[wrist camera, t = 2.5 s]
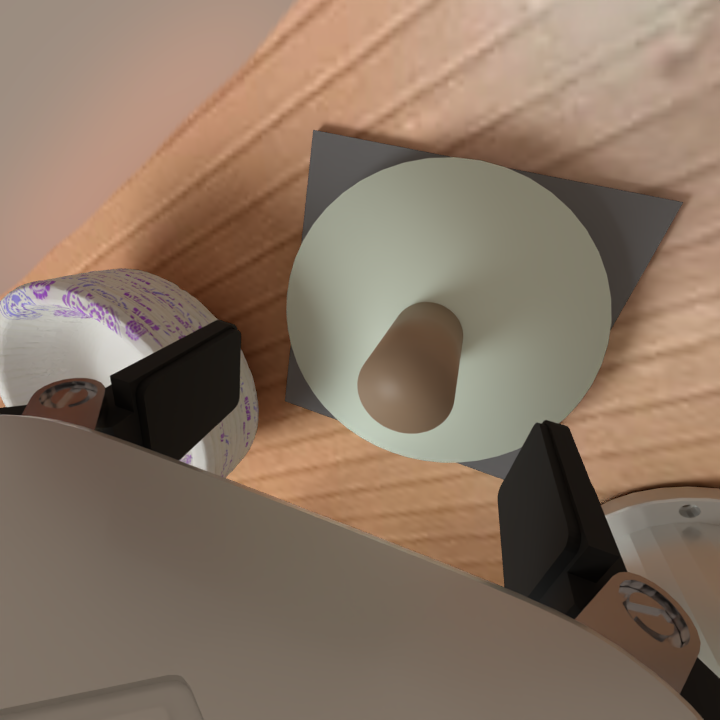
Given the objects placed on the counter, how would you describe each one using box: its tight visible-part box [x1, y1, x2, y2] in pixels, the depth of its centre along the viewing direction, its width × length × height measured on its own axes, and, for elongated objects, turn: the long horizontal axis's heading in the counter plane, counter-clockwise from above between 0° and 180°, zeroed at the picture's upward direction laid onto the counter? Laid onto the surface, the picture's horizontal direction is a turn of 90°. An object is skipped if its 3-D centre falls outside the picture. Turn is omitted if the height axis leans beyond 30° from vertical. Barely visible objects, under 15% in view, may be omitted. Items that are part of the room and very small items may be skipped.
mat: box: [285, 130, 683, 480], centre depth 19 cm, size 16×16×1 cm
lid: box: [286, 157, 611, 463], centre depth 16 cm, size 16×16×7 cm
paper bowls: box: [0, 269, 259, 478], centre depth 23 cm, size 15×15×8 cm
